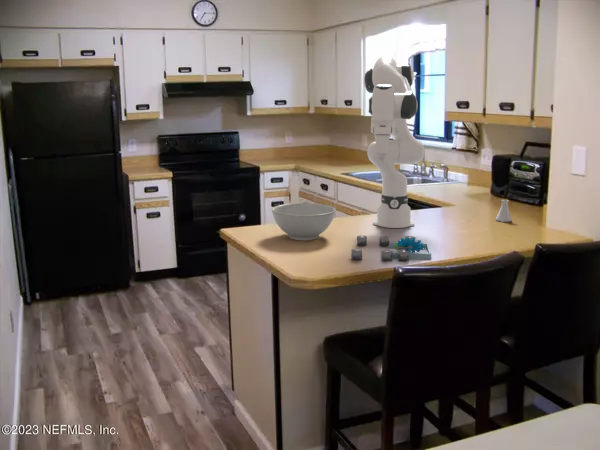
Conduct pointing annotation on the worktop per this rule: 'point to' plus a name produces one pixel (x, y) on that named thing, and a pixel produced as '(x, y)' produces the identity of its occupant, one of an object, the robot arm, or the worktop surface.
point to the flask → (504, 212)
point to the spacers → (385, 254)
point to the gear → (409, 245)
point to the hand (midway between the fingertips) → (381, 164)
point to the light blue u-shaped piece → (414, 255)
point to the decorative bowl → (303, 219)
